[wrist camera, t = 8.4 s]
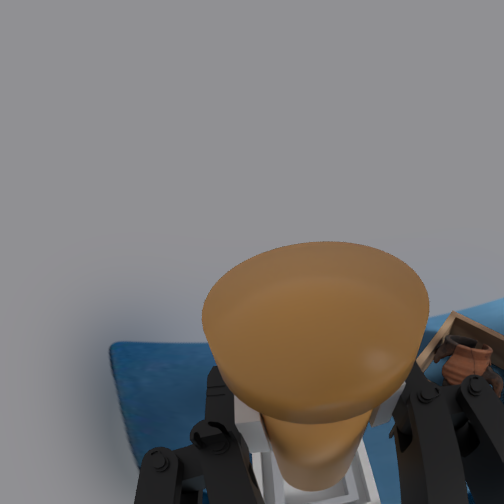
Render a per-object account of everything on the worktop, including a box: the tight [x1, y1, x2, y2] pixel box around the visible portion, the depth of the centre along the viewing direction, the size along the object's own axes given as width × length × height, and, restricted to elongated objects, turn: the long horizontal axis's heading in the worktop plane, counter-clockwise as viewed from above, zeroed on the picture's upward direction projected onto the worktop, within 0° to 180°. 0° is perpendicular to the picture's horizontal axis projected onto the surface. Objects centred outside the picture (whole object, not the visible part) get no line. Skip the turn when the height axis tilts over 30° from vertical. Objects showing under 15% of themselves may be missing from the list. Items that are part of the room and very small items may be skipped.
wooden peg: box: [202, 242, 429, 492], centre depth 9 cm, size 5×5×12 cm
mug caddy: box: [416, 311, 504, 381], centre depth 22 cm, size 14×16×4 cm
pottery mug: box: [433, 335, 503, 398], centre depth 22 cm, size 12×10×8 cm
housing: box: [252, 439, 381, 504], centre depth 22 cm, size 18×11×3 cm, turn 2°
